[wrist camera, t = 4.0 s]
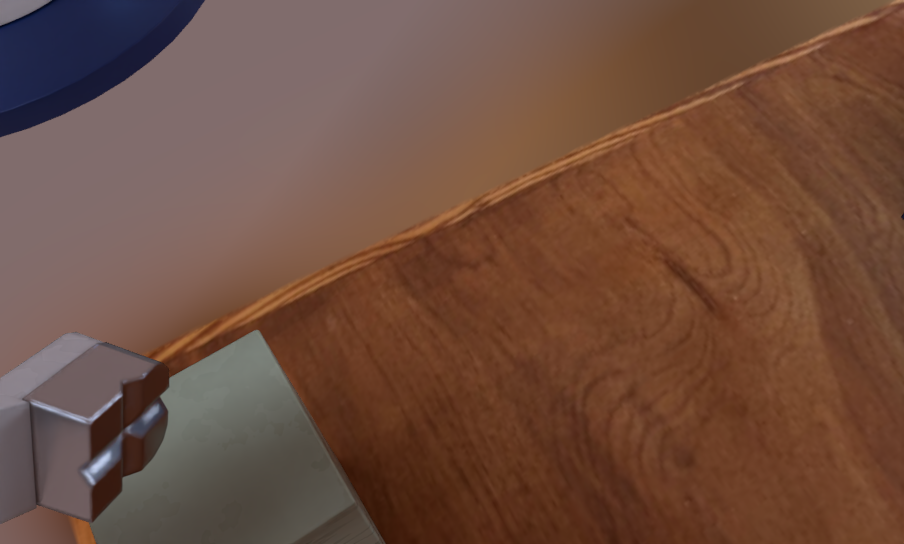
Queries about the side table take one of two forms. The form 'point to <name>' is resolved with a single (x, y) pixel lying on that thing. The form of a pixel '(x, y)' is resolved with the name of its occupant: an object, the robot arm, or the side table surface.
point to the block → (238, 465)
